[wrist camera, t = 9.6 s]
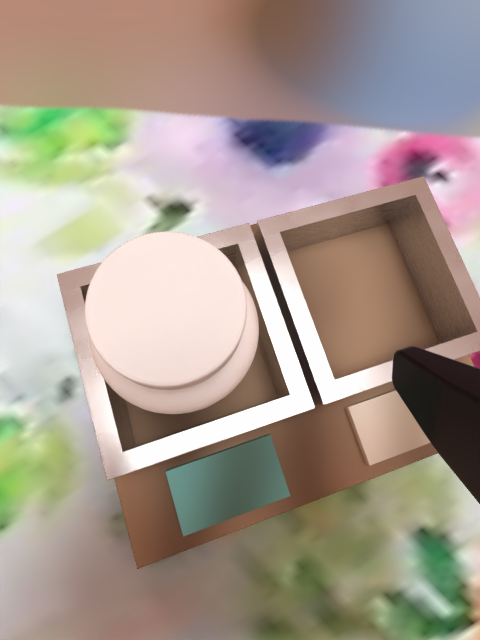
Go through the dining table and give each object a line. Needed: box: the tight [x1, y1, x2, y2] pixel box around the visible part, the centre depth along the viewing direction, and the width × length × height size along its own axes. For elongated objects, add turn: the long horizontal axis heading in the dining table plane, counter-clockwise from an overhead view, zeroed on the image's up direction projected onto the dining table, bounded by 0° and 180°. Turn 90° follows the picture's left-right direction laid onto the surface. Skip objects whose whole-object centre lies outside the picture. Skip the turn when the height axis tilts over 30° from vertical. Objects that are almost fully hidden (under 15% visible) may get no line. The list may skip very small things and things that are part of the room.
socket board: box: [115, 224, 474, 569], centre depth 20 cm, size 19×14×2 cm
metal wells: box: [57, 176, 480, 480], centre depth 18 cm, size 18×9×3 cm, turn 108°
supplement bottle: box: [85, 232, 259, 415], centre depth 14 cm, size 5×5×10 cm
